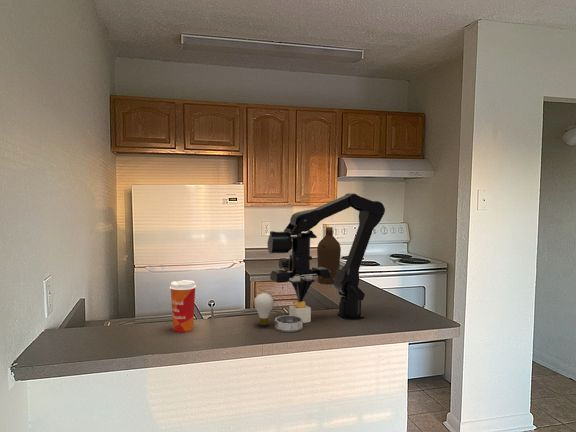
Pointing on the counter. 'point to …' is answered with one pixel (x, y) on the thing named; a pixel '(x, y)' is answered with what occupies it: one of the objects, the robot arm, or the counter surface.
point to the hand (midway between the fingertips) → (300, 301)
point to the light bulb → (263, 307)
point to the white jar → (301, 313)
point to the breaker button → (299, 304)
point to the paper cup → (183, 305)
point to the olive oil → (328, 255)
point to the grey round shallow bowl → (288, 323)
